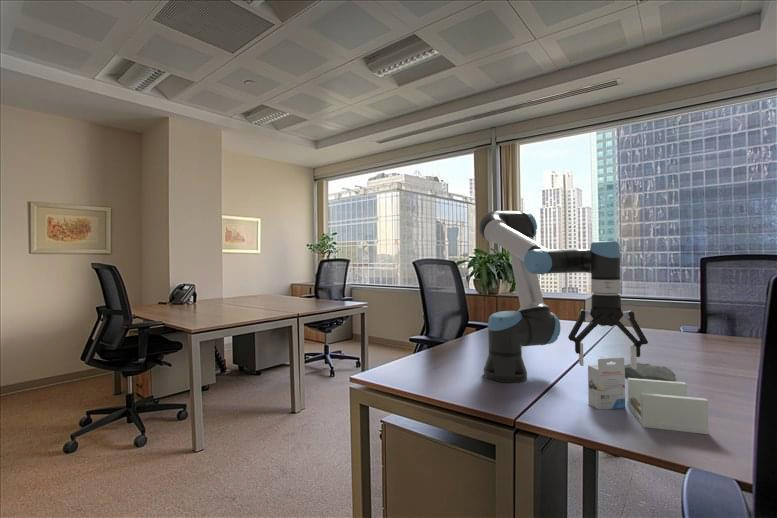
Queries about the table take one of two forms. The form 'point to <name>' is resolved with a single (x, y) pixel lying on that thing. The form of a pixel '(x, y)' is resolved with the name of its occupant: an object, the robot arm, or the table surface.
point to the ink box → (607, 384)
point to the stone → (649, 372)
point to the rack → (667, 406)
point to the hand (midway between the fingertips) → (606, 366)
